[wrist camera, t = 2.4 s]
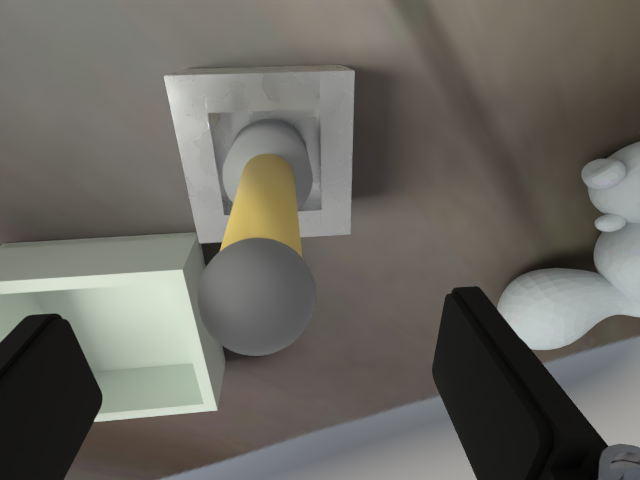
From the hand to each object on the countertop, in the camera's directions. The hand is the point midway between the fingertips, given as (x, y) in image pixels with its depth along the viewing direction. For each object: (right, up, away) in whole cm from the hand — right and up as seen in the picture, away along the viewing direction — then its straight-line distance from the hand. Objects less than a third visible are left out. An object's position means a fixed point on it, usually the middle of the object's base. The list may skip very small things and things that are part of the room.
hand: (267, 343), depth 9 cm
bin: (-16, -4, +23) cm, 28 cm away
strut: (-2, +8, +14) cm, 16 cm away
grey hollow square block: (-2, +10, +17) cm, 20 cm away
